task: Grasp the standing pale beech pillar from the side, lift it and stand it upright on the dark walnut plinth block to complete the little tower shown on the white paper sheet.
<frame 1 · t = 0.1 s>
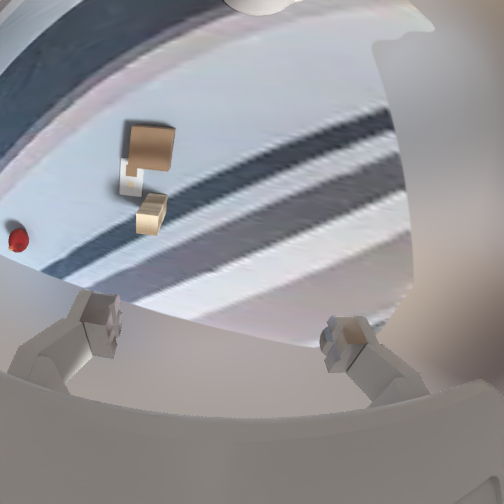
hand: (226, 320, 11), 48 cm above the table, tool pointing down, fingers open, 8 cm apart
pillar: (157, 202, 58), on the table
red rounded piece: (25, 232, 57), on the table
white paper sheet: (131, 177, 54), on the table
plinth: (152, 146, 51), on the table, touching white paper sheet
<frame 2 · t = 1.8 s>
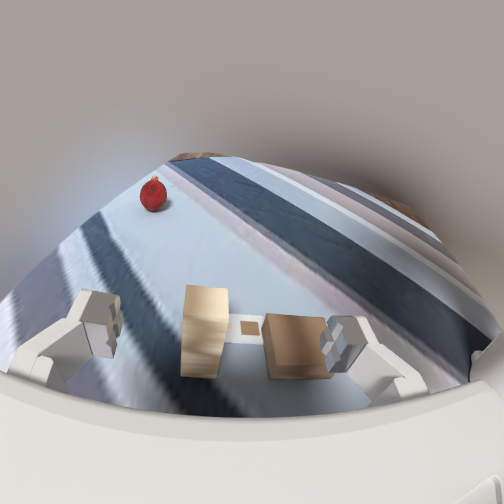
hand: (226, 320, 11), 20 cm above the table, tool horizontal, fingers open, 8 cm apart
pillar: (198, 363, 31), on the table
red rounded piece: (152, 212, 60), on the table
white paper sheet: (238, 328, 37), on the table
plinth: (294, 353, 35), on the table, touching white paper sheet
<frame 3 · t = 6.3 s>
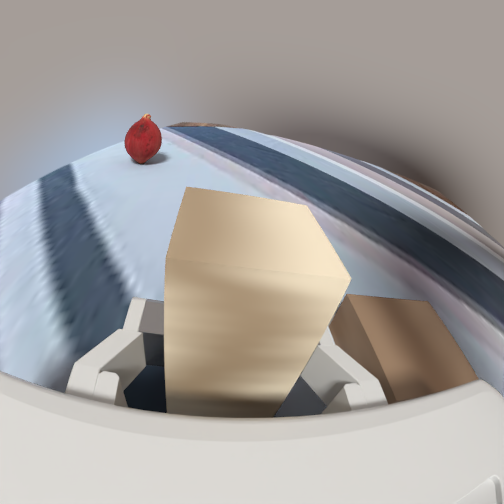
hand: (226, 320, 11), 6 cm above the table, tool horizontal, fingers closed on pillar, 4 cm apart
pillar: (211, 407, 13), on the table, touching gripper
red rounded piece: (140, 164, 41), on the table
plinth: (393, 369, 17), on the table, touching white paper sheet
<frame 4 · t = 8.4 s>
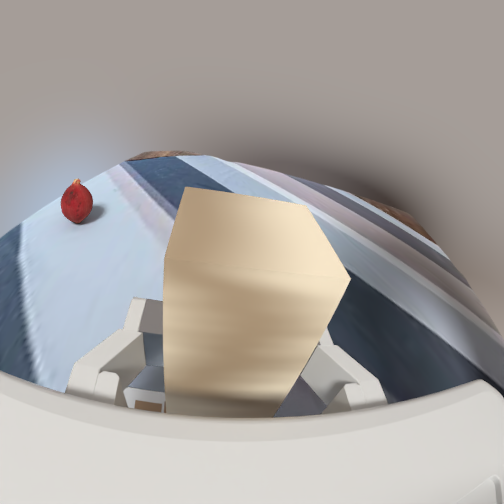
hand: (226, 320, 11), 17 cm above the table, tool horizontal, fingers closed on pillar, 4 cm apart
pillar: (211, 407, 13), point 11 cm above the table, touching gripper
red rounded piece: (77, 224, 43), on the table
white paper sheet: (130, 412, 20), on the table
when the fingers open (10 cm above the table, at t = 10.6 s): pillar drops 1 cm, resting on plinth.
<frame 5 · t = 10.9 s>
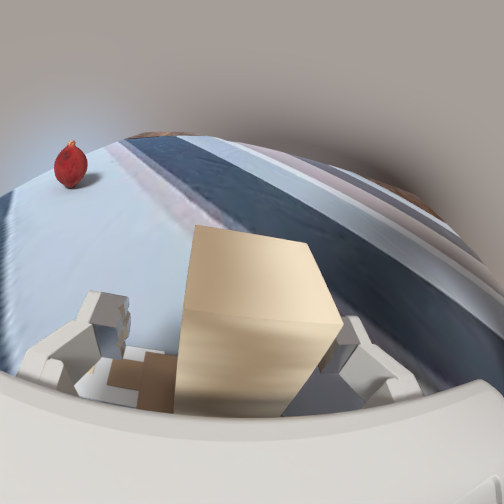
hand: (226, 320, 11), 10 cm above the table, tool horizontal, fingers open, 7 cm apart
pillar: (211, 417, 13), point 3 cm above the table, touching plinth
red rounded piece: (71, 189, 40), on the table
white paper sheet: (106, 371, 17), on the table
plinth: (204, 435, 15), on the table, touching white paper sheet, pillar
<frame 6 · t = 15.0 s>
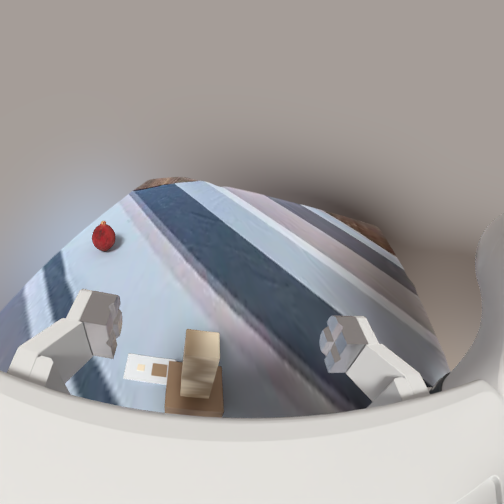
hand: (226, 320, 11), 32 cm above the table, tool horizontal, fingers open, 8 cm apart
pillar: (194, 385, 37), point 3 cm above the table, touching plinth
red rounded piece: (104, 251, 64), on the table
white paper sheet: (150, 369, 41), on the table
plinth: (193, 395, 39), on the table, touching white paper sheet, pillar
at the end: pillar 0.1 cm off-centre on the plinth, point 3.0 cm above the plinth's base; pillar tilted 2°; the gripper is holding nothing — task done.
